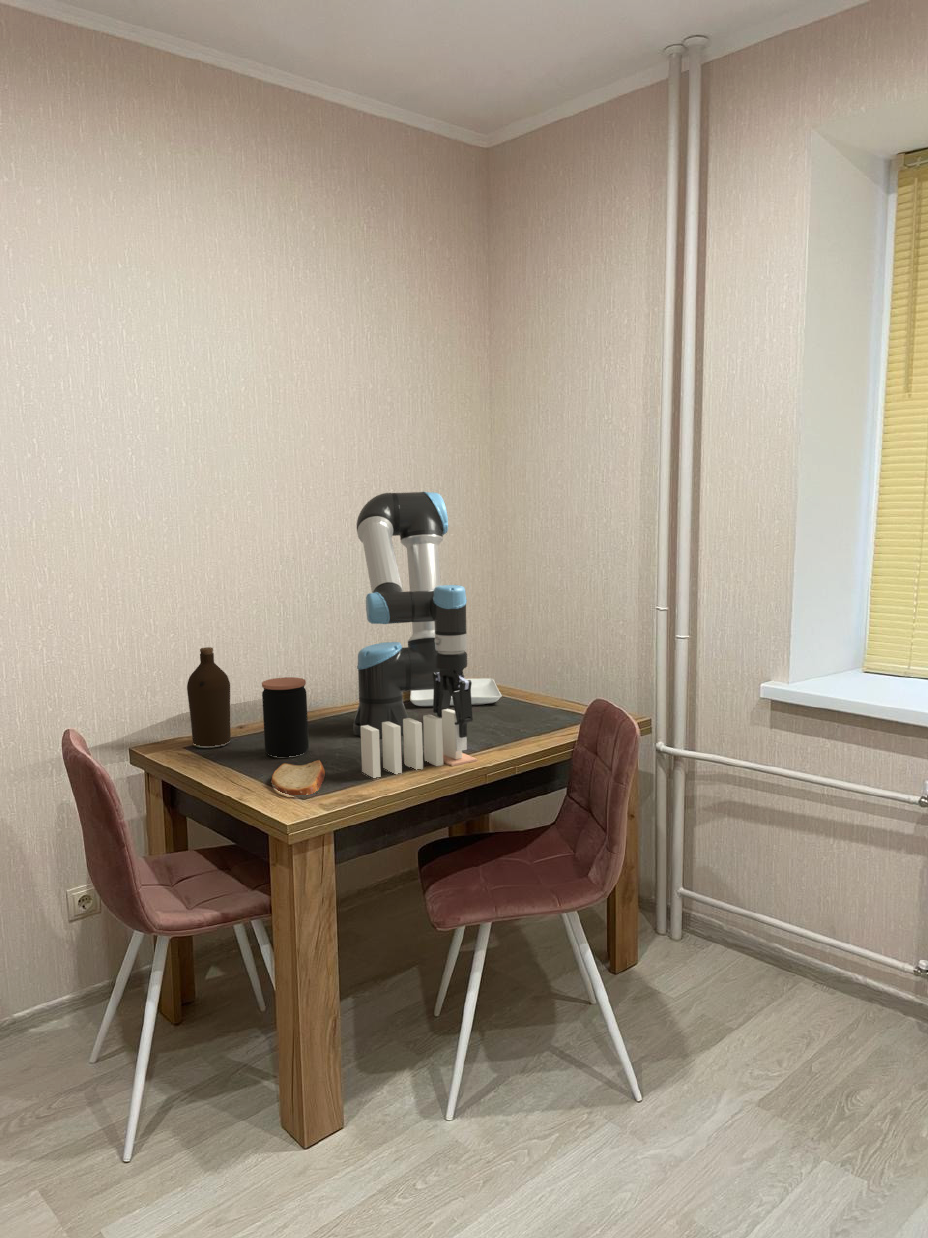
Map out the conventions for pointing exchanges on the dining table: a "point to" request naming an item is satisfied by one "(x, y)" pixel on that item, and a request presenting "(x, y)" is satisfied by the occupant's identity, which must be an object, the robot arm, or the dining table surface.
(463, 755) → the mat
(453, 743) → the domino
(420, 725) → the domino
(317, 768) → the slice of bread
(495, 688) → the square plate
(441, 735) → the domino
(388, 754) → the domino
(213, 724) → the olive oil
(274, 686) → the coffee jar
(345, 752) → the dining table surface
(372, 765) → the domino
